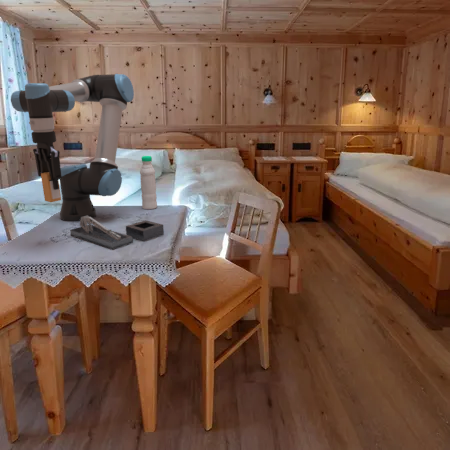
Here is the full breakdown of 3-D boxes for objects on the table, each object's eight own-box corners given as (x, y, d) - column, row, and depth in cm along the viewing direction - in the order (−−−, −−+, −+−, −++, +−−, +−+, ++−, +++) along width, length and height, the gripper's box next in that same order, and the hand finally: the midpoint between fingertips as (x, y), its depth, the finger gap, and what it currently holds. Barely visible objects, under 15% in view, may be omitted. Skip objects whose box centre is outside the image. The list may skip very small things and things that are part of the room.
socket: (126, 236, 155) (125, 226, 154) (146, 229, 163) (145, 220, 162) (143, 241, 149) (143, 230, 148) (163, 234, 157) (163, 224, 156)
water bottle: (141, 206, 199) (137, 155, 192) (155, 205, 201) (152, 154, 194) (143, 210, 193) (140, 157, 186) (158, 208, 195) (155, 156, 188)
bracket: (86, 225, 160) (90, 204, 155) (118, 256, 150) (123, 235, 145) (79, 227, 157) (82, 205, 152) (111, 259, 148) (116, 237, 143)
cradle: (70, 235, 157) (70, 229, 156) (90, 229, 163) (90, 224, 163) (112, 249, 141) (112, 243, 141) (132, 242, 148) (132, 236, 147)
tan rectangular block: (44, 200, 146) (40, 173, 143) (55, 198, 149) (51, 171, 146) (50, 202, 144) (46, 174, 141) (61, 200, 147) (57, 172, 144)
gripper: (20, 130, 141) (30, 196, 148) (45, 132, 131) (55, 202, 138) (40, 129, 147) (49, 192, 154) (66, 131, 137) (75, 198, 144)
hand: (52, 197), depth 146 cm, fingers closed on tan rectangular block, 4 cm apart
